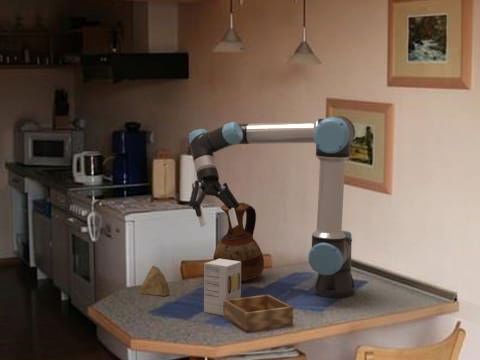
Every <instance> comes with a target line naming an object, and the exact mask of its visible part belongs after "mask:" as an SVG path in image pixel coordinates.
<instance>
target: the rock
mask: <svg viewBox="0 0 480 360" xmlns="http://www.w3.org/2000/svg"><path fill="white" fill-rule="evenodd" d="M139 293H140V294H145V295H150V296H163V297H166V296H169V295H170V287H169V285H168V281H167V279H166V277H165V275H164V273H162V271H161V270H160V268H159V267H157V266H156V265H152V266H151V267H150V269H149V271H148V272H147V275H146V277H145V279H144V281H143V282H142V284H141V287H140V291H139Z"/></svg>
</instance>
